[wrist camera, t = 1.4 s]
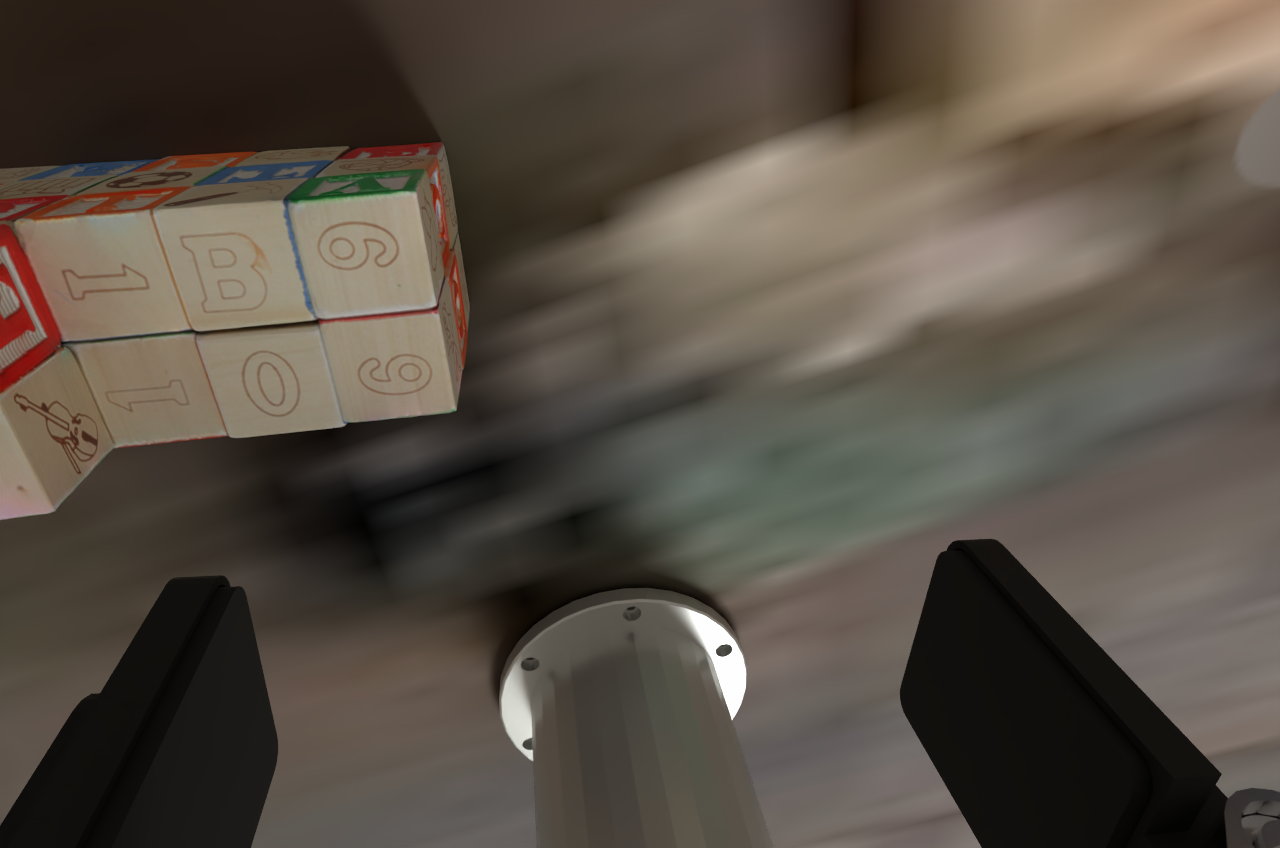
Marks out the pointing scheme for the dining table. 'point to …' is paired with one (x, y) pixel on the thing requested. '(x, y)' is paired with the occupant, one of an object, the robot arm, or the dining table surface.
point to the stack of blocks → (220, 303)
